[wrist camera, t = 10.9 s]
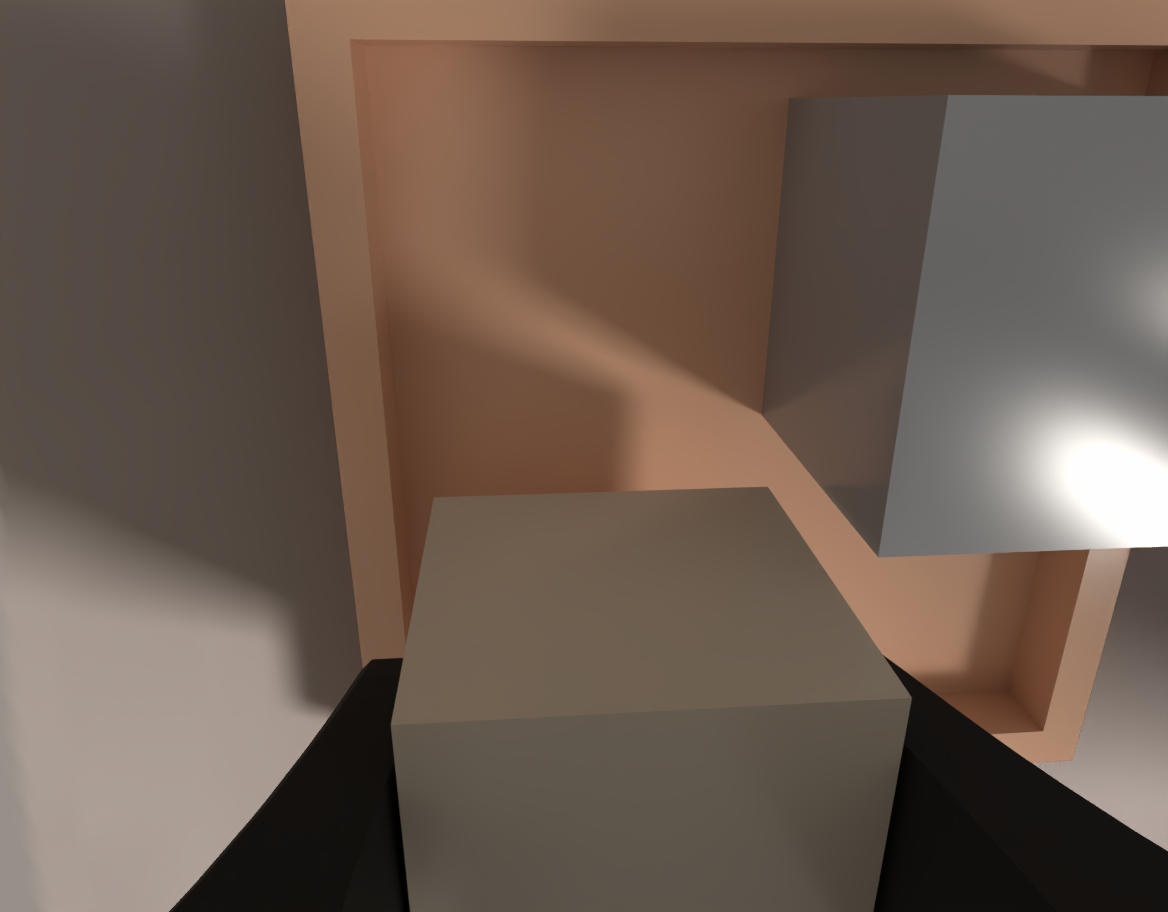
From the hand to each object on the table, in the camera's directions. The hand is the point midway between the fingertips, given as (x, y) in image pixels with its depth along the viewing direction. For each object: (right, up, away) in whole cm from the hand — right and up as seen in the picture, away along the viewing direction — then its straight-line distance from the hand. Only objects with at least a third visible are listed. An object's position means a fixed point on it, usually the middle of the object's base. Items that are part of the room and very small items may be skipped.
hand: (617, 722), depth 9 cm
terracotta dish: (+2, +3, +3) cm, 5 cm away
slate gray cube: (+4, +5, +2) cm, 7 cm away
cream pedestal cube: (0, +1, +2) cm, 2 cm away
